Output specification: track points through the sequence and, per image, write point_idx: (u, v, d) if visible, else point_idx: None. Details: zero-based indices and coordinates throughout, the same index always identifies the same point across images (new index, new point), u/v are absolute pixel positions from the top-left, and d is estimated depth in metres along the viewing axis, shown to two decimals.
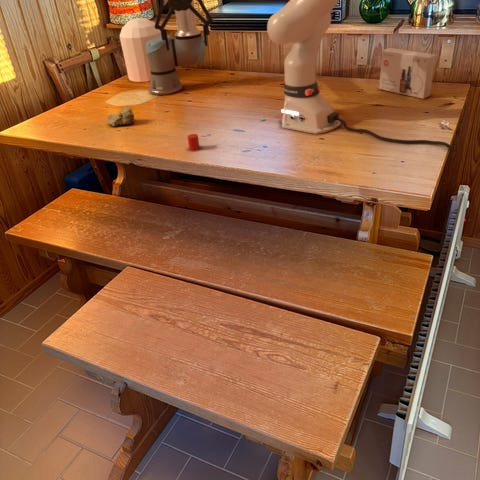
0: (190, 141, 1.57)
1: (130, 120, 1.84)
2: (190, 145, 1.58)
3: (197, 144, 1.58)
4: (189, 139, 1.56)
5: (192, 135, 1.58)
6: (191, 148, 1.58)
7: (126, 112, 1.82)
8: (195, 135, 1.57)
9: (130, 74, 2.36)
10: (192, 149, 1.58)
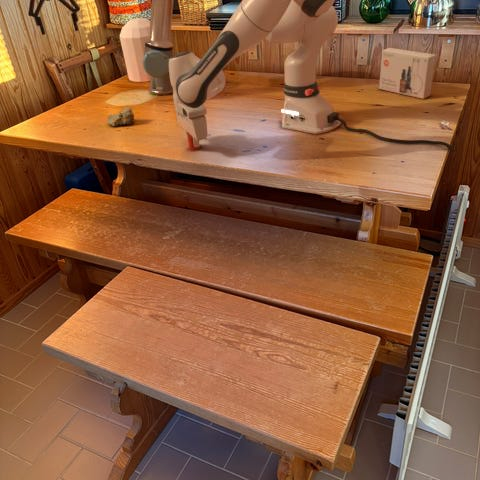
0: (190, 141, 1.57)
1: (130, 120, 1.84)
2: (190, 145, 1.58)
3: None
4: (189, 139, 1.56)
5: None
6: (191, 148, 1.58)
7: (126, 112, 1.82)
8: None
9: (130, 74, 2.36)
10: (192, 149, 1.58)
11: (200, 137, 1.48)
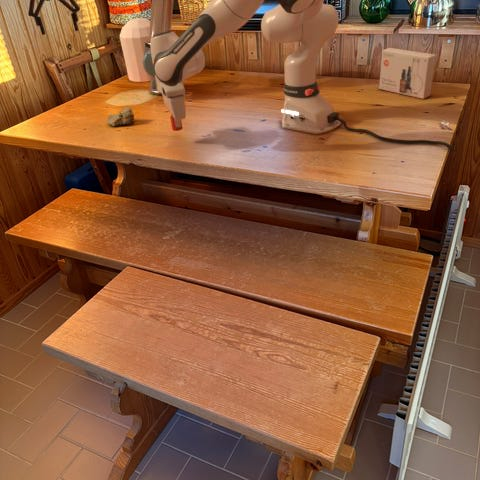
0: (172, 121, 1.59)
1: (130, 120, 1.84)
2: (172, 125, 1.60)
3: None
4: (171, 119, 1.59)
5: None
6: (173, 128, 1.60)
7: (126, 112, 1.82)
8: None
9: (130, 74, 2.36)
10: (174, 129, 1.60)
11: (178, 116, 1.50)
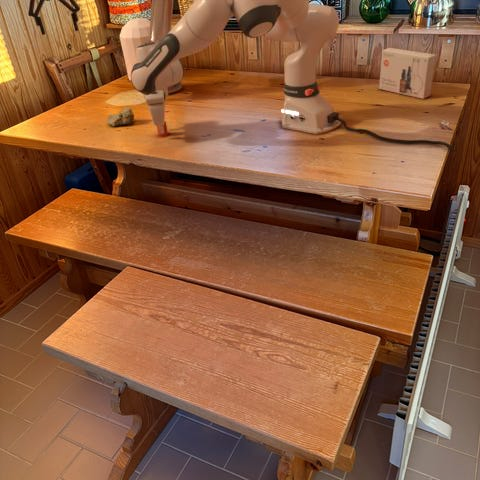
0: (157, 127, 1.70)
1: (130, 120, 1.84)
2: (158, 131, 1.71)
3: (164, 131, 1.71)
4: None
5: None
6: (159, 134, 1.71)
7: (126, 112, 1.82)
8: None
9: (130, 74, 2.36)
10: (159, 135, 1.71)
11: (156, 123, 1.60)
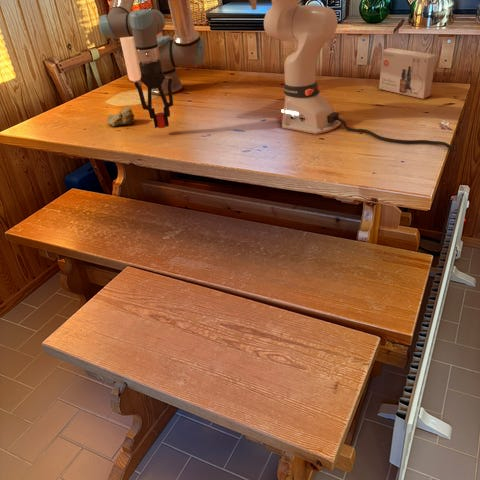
0: (156, 119, 1.69)
1: (130, 120, 1.84)
2: None
3: (163, 122, 1.69)
4: (155, 117, 1.69)
5: (160, 113, 1.69)
6: (157, 125, 1.70)
7: (126, 112, 1.82)
8: (162, 114, 1.69)
9: (130, 74, 2.36)
10: (158, 126, 1.70)
11: None
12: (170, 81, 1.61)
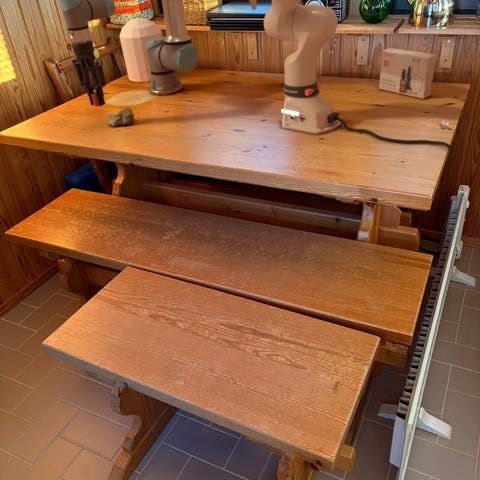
0: (92, 97, 1.80)
1: (130, 120, 1.84)
2: None
3: (96, 101, 1.80)
4: None
5: None
6: None
7: (126, 112, 1.82)
8: None
9: (130, 74, 2.36)
10: None
11: None
12: (96, 64, 1.69)
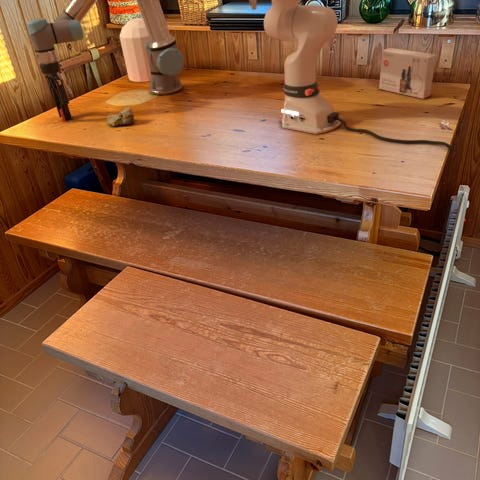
0: None
1: (130, 120, 1.84)
2: None
3: (62, 116, 1.94)
4: None
5: None
6: None
7: (126, 112, 1.82)
8: None
9: (130, 74, 2.36)
10: None
11: None
12: (56, 83, 1.82)
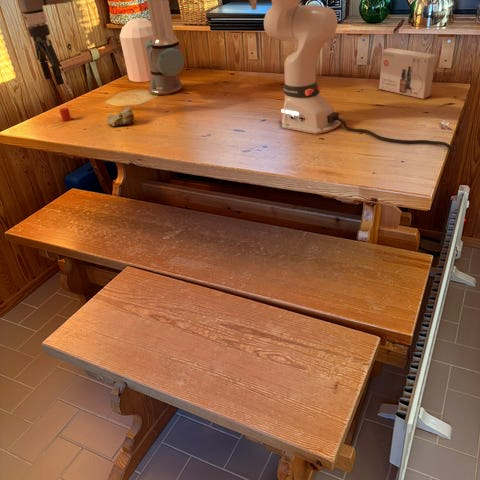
0: None
1: (130, 120, 1.84)
2: None
3: (62, 116, 1.94)
4: None
5: (64, 108, 1.94)
6: None
7: (126, 112, 1.82)
8: (63, 109, 1.93)
9: (130, 74, 2.36)
10: None
11: None
12: (44, 43, 1.74)
